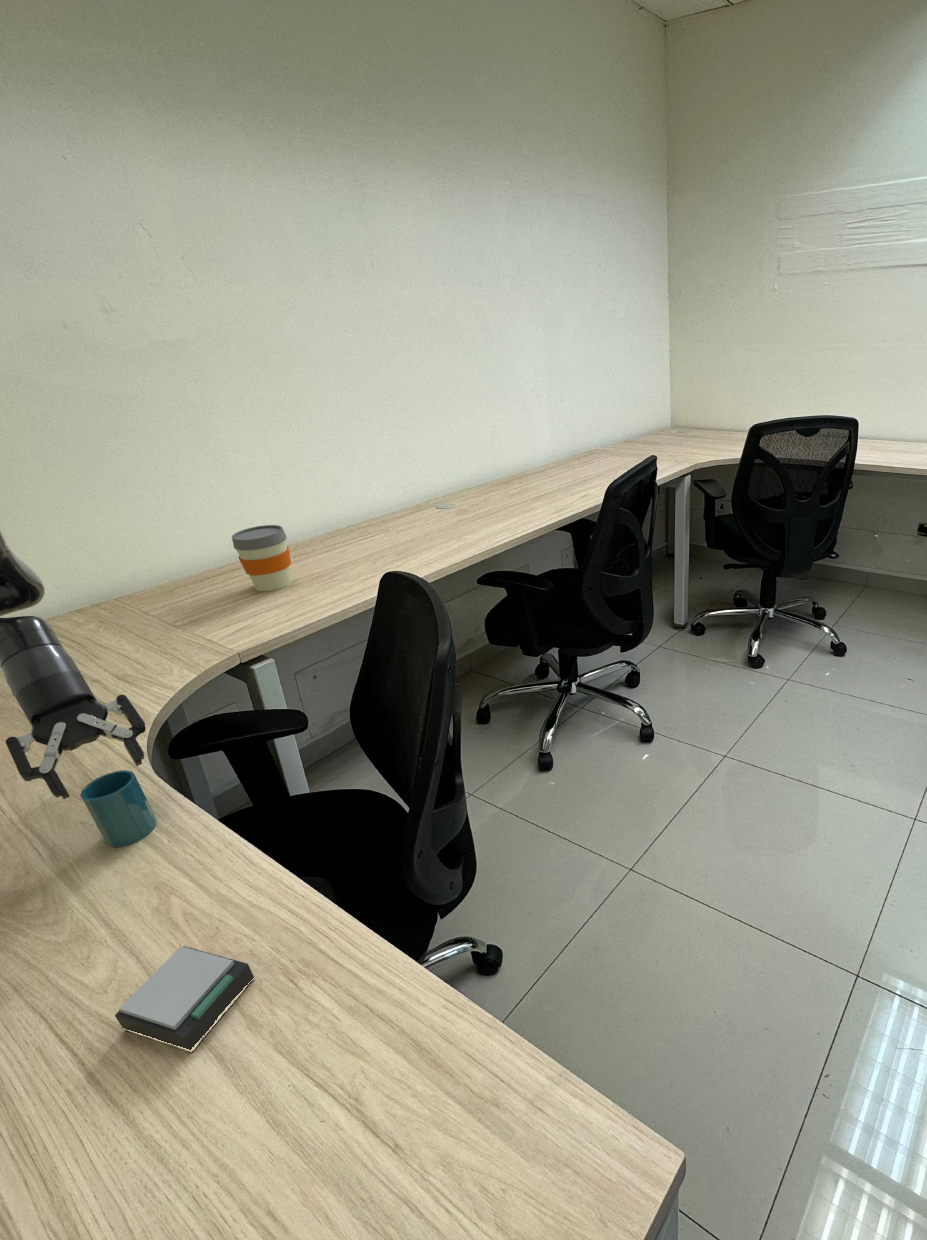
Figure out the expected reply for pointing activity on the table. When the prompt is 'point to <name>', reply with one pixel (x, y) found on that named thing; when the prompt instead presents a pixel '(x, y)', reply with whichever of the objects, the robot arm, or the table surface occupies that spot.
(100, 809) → the ceramic cup
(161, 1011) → the scale
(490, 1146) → the table surface
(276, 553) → the reusable coffee cup
